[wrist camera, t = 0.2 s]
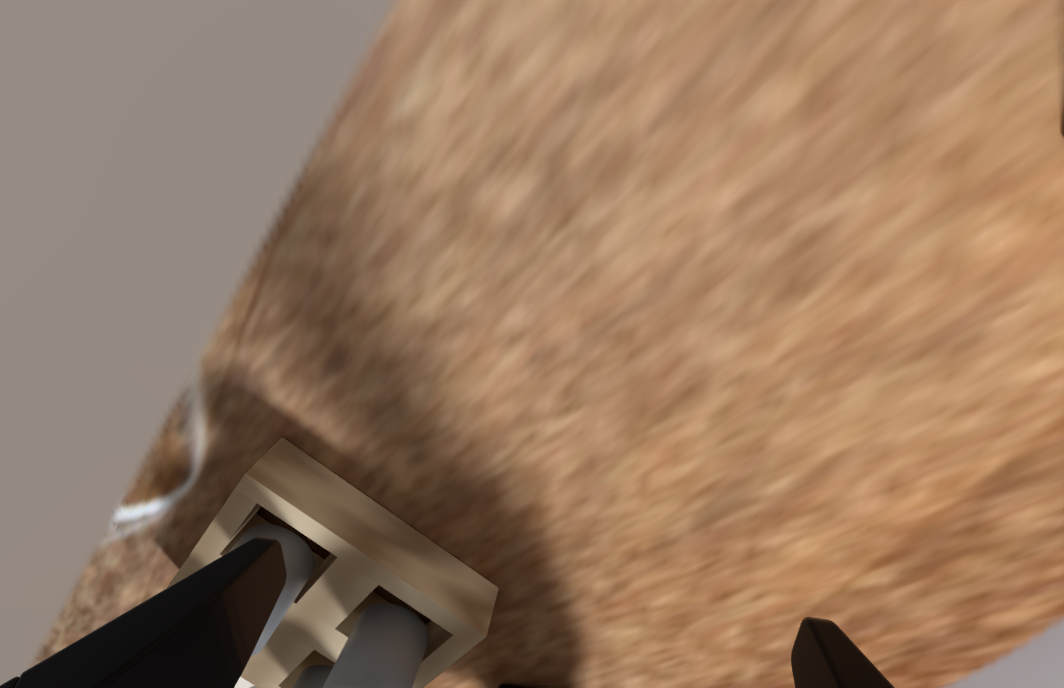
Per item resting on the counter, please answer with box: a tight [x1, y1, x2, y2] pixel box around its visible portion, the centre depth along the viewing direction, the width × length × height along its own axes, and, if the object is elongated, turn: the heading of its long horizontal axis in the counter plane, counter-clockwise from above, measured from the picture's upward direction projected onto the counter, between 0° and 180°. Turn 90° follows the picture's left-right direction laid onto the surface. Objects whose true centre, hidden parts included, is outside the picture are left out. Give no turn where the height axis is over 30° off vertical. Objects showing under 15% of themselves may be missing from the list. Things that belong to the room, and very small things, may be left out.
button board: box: [167, 437, 499, 688], centre depth 30 cm, size 14×14×3 cm
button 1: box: [229, 524, 315, 656], centre depth 25 cm, size 4×4×4 cm
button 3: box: [323, 603, 429, 688], centre depth 26 cm, size 4×4×4 cm
